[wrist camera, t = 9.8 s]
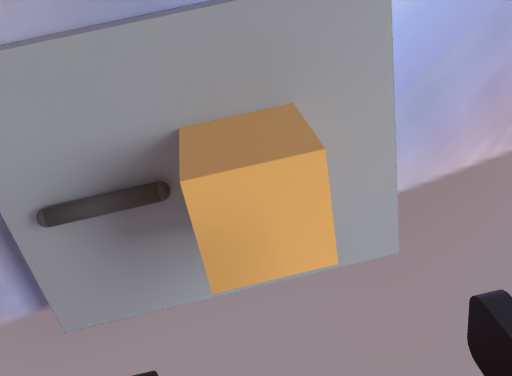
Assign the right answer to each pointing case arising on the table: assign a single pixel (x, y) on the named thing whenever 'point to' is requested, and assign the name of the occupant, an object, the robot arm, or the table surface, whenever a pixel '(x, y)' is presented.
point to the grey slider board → (167, 140)
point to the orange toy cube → (257, 196)
